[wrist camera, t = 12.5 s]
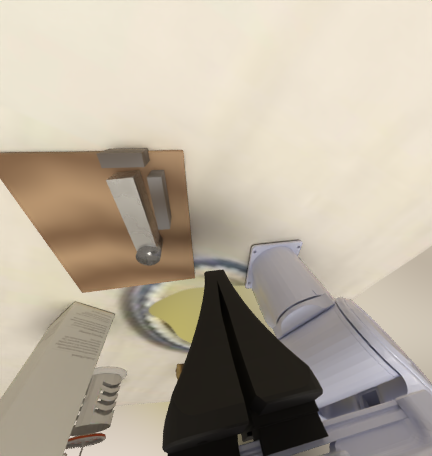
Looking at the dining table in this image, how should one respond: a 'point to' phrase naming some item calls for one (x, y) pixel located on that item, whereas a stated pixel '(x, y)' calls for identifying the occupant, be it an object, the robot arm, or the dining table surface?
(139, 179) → the swing bar
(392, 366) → the robot arm
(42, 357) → the skincare box
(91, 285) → the lock board
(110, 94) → the dining table surface
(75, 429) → the french press
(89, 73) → the dining table surface
